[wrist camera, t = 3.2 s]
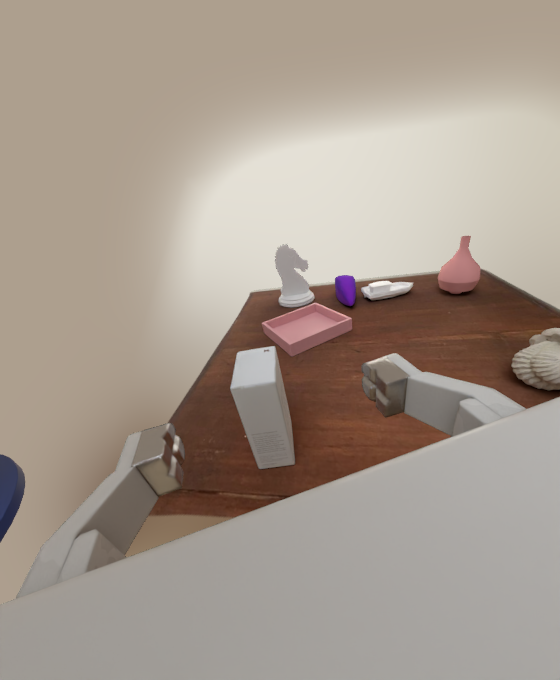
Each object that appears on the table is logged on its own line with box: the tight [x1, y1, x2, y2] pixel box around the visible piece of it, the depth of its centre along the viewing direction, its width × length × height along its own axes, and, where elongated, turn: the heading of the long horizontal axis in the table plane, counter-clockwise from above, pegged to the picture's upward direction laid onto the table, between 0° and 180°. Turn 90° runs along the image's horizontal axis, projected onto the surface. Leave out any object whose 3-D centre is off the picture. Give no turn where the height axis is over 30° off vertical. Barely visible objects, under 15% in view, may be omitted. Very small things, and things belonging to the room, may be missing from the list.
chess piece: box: [275, 244, 314, 307], centre depth 65 cm, size 10×10×15 cm
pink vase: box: [438, 236, 480, 294], centre depth 54 cm, size 8×8×12 cm
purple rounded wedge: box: [335, 275, 356, 306], centre depth 63 cm, size 5×5×15 cm
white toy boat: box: [361, 281, 413, 300], centre depth 61 cm, size 6×12×3 cm, turn 93°
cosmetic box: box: [230, 346, 295, 469], centre depth 27 cm, size 6×4×12 cm
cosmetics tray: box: [262, 303, 352, 356], centre depth 52 cm, size 14×12×3 cm
